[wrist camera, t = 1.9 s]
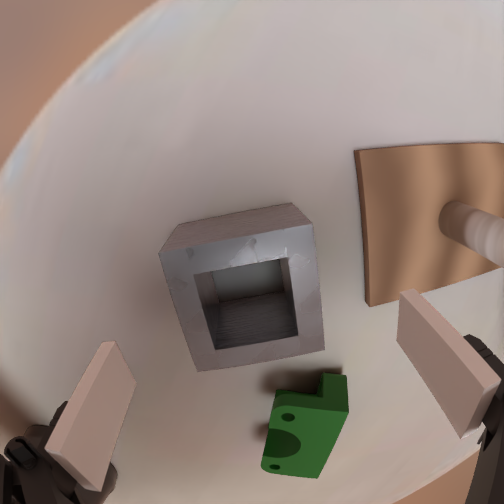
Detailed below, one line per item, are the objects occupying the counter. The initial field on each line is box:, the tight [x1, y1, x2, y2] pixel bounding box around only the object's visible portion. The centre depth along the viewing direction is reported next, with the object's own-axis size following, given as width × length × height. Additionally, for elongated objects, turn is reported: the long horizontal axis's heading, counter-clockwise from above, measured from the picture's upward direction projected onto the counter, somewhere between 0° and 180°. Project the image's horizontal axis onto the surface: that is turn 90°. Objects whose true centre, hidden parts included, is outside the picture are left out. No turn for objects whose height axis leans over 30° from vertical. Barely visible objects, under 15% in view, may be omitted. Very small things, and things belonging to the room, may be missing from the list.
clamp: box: [261, 373, 349, 479], centre depth 25 cm, size 12×6×9 cm, turn 170°
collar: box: [158, 203, 325, 372], centre depth 20 cm, size 8×8×6 cm
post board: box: [354, 143, 504, 307], centre depth 18 cm, size 16×12×8 cm
